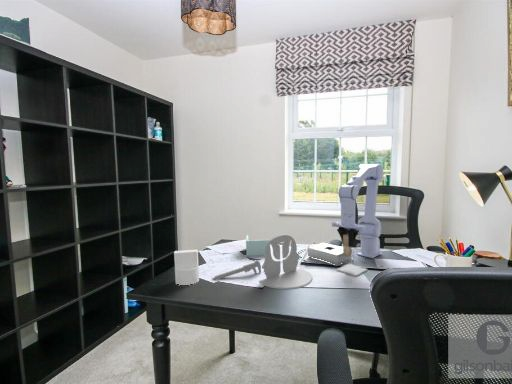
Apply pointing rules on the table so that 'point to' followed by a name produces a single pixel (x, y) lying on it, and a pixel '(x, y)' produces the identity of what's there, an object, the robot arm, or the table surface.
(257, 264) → the caliper
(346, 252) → the long tan rectangular block
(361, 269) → the pad
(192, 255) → the white rounded upright block
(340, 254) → the guard box
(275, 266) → the ornament
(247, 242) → the l-shaped corner panel
